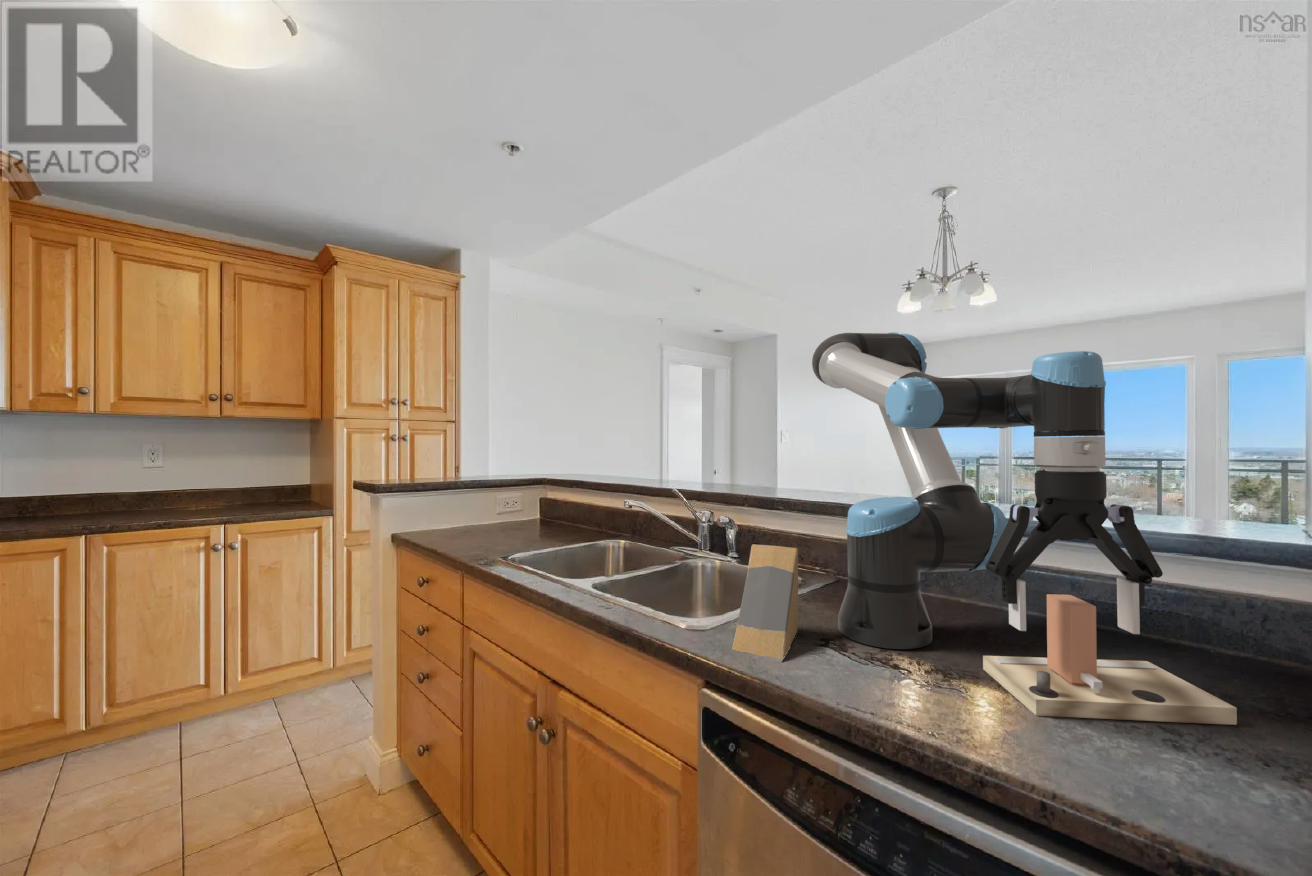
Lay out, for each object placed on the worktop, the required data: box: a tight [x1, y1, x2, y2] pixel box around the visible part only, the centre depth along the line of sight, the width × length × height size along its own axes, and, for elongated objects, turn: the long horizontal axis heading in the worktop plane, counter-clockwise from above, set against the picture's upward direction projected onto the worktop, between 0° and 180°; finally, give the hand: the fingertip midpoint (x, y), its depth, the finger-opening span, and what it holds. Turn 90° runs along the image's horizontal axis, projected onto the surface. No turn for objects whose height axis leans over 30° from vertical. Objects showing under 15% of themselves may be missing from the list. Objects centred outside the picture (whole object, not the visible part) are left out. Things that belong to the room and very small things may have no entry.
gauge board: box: [982, 655, 1238, 726], centre depth 70 cm, size 22×13×4 cm, turn 83°
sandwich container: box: [731, 543, 799, 659], centre depth 89 cm, size 9×15×15 cm, turn 156°
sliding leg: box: [1046, 593, 1103, 693], centre depth 69 cm, size 3×8×10 cm, turn 173°
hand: (1072, 629), depth 70 cm, fingers open, 13 cm apart
